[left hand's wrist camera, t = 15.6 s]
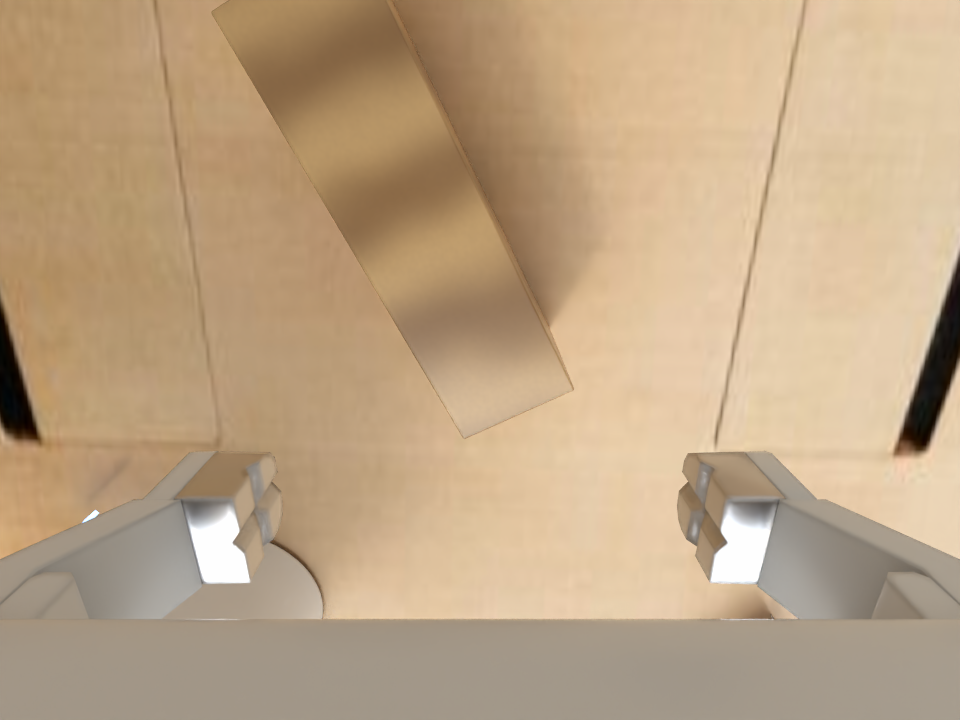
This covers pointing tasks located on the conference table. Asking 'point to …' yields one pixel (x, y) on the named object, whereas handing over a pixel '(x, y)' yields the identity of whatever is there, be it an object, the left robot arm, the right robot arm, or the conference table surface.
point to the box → (402, 197)
